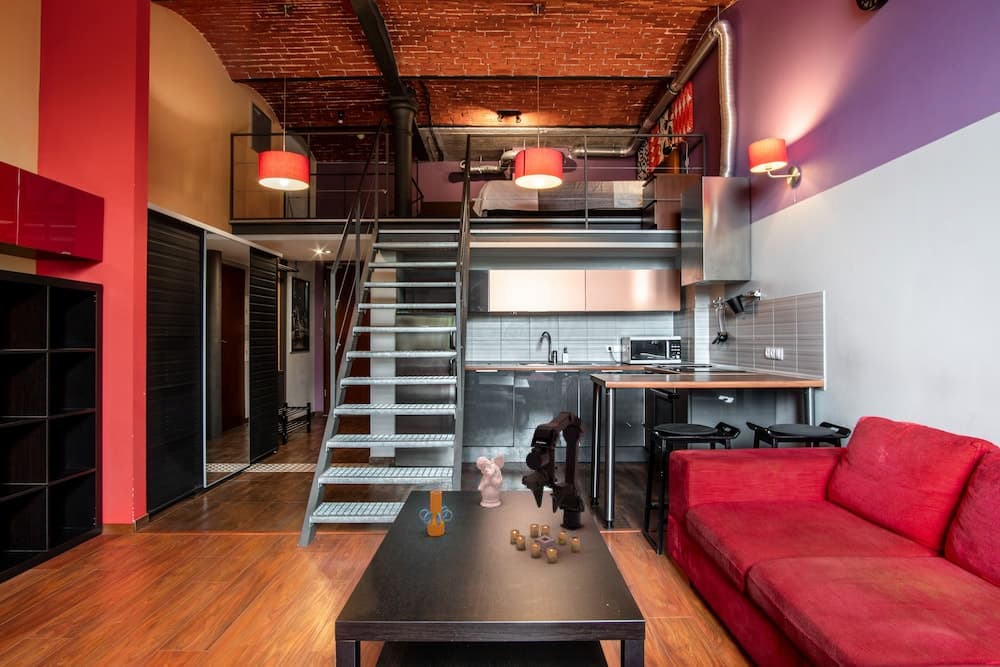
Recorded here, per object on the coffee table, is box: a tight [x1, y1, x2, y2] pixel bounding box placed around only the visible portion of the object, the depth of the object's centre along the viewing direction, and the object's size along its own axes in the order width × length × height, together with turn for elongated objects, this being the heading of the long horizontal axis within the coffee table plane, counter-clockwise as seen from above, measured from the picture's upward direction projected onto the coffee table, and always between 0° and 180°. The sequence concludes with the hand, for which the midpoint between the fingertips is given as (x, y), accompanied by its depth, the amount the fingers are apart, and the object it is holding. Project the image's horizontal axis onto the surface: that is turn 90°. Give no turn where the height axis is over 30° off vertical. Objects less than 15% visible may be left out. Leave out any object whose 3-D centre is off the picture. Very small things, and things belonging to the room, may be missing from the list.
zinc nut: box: [534, 535, 557, 554], centre depth 170 cm, size 5×5×3 cm
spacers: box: [510, 523, 581, 565], centre depth 171 cm, size 17×22×4 cm
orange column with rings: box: [418, 489, 454, 537], centre depth 183 cm, size 12×10×15 cm
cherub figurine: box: [476, 453, 506, 509], centre depth 217 cm, size 12×12×22 cm
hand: (546, 510), depth 169 cm, fingers open, 7 cm apart
